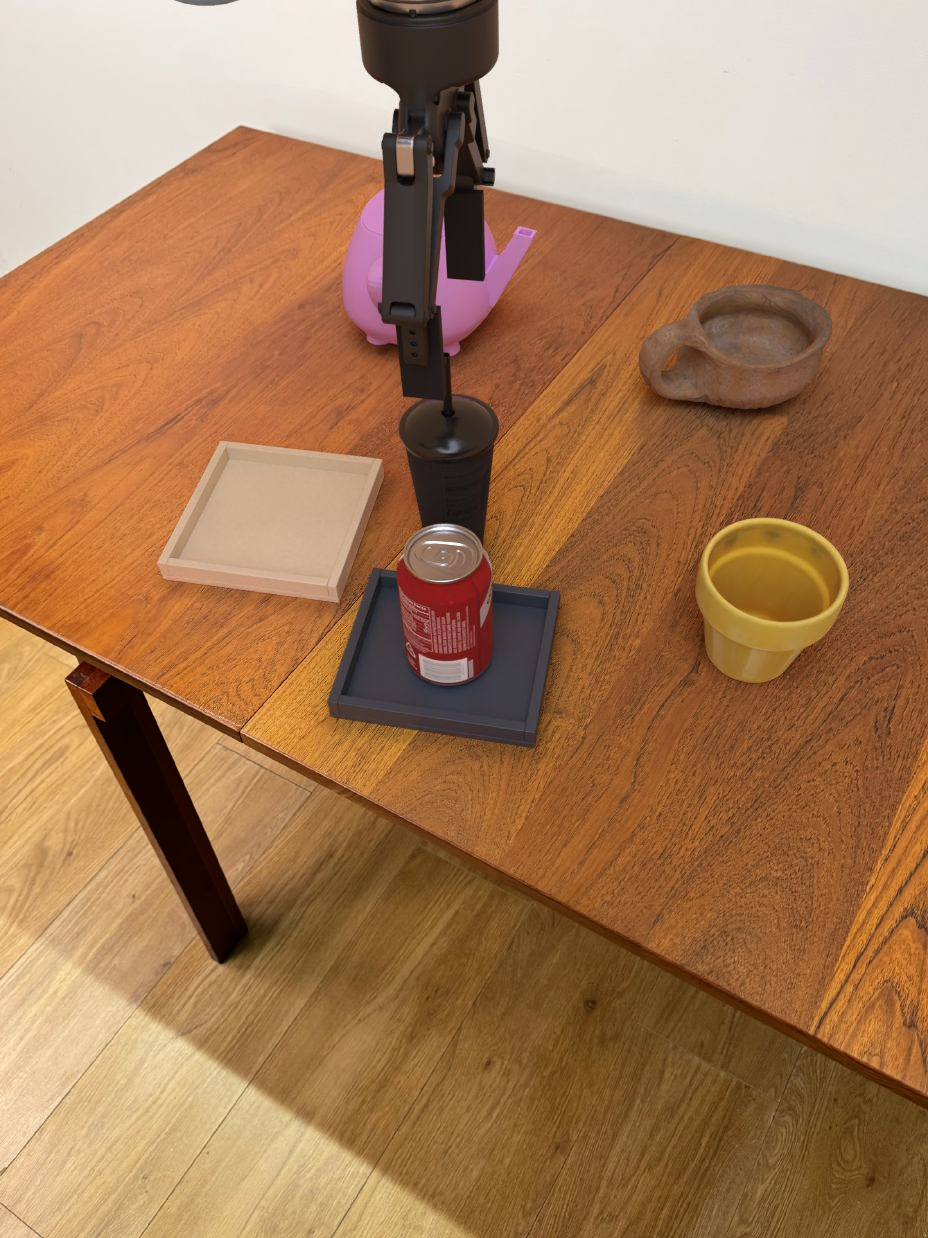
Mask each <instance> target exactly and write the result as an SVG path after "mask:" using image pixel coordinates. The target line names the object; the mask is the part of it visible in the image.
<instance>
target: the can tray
mask: <svg viewBox="0 0 928 1238" xmlns="http://www.w3.org/2000/svg"><path fill="white" fill-rule="evenodd" d="M396 571H397V569H396V570H395V569H387V568H381V567H372V569H371V571H370V574H369V577H368V580H367V584H366V585H365V589H364V592H363V595H362V598H361V600H360V603H359V607H358V610H357V613H356V615H355V618H354V621H353V625H352V628H351V630H350V633H349V635H348V640H347V642H346V645H345V648H344V651H343V654H342V656H341V660H340V663H339V666H338V668H337V673H336V675H335V678H334V680H333V684H332V687H331V690H330V692H329V695H328V699H327V706H328V711H329V714H330V717H331V718H335V719H341V720H347V721H355V722H360V723H368V724H375V725H381V726H388V727H394V728H400V729H407V730H412V731H413V730H414V731H420V732H427V733H433V734H439V735H446V736H451V737H452V736H453V737H459V738H467V739H473V740H480V741H486V742H492V743H499V744H505V745H512V746H518V747H524V748H531V749H535V747H536V743H537V737H538V733H539V724H540V720H541V715H542V708H543V704H544V698H545V690H546V685H547V680H548V674H549V670H550V663H551V657H552V653H553V646H554V640H555V635H556V629H557V624H558V618H559V612H560V606H561V605H560V604H561V591H559V590H550V589H541V588H534V587H526V586H520V585H519V586H518V585H511V584H503V583H495V582H492V617H493V654H492V658H491V661H490V663H489V665H488V667H487V668H486V669H485V671H484V672H483V673H482V674H481V675H479V676H478V677H477V678H475V679H473V680H471V681H469V682H467V683H464V684H460V685H454V686H442V685H436V684H433V683H430V682H427V681H425V680H424V679H422V678H420V677H419V676H418V675H417V674H416V673H415V672H414V671H413V670H412V669H411V667H410V665H409V663H408V661H407V657H406V649H405V641H404V633H403V624H402V616H401V608H400V600H399V591H398V583H397V573H396Z"/></svg>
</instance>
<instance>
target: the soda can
mask: <svg viewBox="0 0 928 1238" xmlns="http://www.w3.org/2000/svg"><path fill="white" fill-rule="evenodd" d="M396 573H397V583H398V591H399V600H400V608H401V616H402V624H403V633H404V641H405V649H406V657H407V661H408V663H409V665H410V667H411V669H412V670H413V671H414V672H415V673H416V674H417V675H418V676H419V677H420V678H422V679H424V680H425V681H427V682H430V683H433V684H436V685H442V686H454V685H460V684H464V683H467V682H469V681H471V680H473V679H475V678H477V677H478V676H479V675H481V674H482V673H483V672H484V671H485V669H486V668H487V667H488V665H489V663H490V661H491V658H492V654H493V617H492V583H493V564H492V560H491V558H490V556H489V554H488V552H487V551H486V550H485V549H484V547H483V548H482V544H481V542H480V540H479V539H478V537H477V536H476V535H475V534H474V533H473V532H471V531H470V530H468V529H467V528H464V527H462V526H459V525H455V524H446V523H445V524H434V525H430V526H427V527H424V528H422V527H421V529H418V530H417V531H416V532H414V533H413V534H412V535H411V536H410V537H409V538H408V539H407V541H406V543H405V544H404V548H403V552H402V553H401V555H400V557H399V558H398V562H397V564H396Z"/></svg>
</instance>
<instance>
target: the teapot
mask: <svg viewBox="0 0 928 1238" xmlns="http://www.w3.org/2000/svg"><path fill="white" fill-rule="evenodd" d="M383 225H384V188H383V189H381V190H380V191H378V192H377V193H376V194H375V195H374V196H373V197H372V198H371V199H370V200H369V201H368V202H367V203H366V204H365V206H364V208H363V209H362V211H361V214H360V216H359V218H358V220H357V222H356V224H355V228H354V230H353V233H352V235H351V238H350V241H349V244H348V246H347V250H346V255H345V259H344V264H343V270H342V271H343V272H342V282H341V283H342V284H341V287H342V289H341V290H342V291H341V292H342V299H343V300H342V301H343V307H344V310H345V313H346V315H347V316H348V318H349V319H350V320H351V322H353V323H354V324H355V326H357V327H358V328H359V329H360V330H361V331H362V332H364V333H365V334H366V340H367V342H368V343H370V344H373V345H376V346H381V345H382V346H384V345H387V344H394V345H397V335H396V326H395V325H392V324H383V322H382V320H381V318H382V317H381V314H379V312H378V302H380V303H382V274H383ZM484 230H485V275H486V276H485V279H484V282H483V281H470V280H458V279H447V267H446V249H445V231H444V217H443V228H442V239H441V250H440V261H439V271H438V282H437V293H436V305H440V306H441V317H442V333H443V349H444V352H448V353H450V357H453V356H456V355H457V354H458V353H459V352H460V350H461V345H460V342H461V341H463V340H464V339H466V338H467V337H469V335H471V334H472V333H473V332H474V331H475V330H476V329H478V327H479V326H480V325H482V323H483V321H484V320H485V319H486V318H487V317H488V316H489V314H490V313H491V312H492V309H494V307H495V306H496V304H497V303H498V302H499V299H500V298H501V296H502V295H503V293H504V292H505V290H506V288H507V287H508V286H509V283H510V282H511V280H512V278H513V277H514V275H515V274H516V273H515V272H516V271H517V270H518V267H519V266H520V264H521V262H522V261H523V259H524V257H525V256H526V253H527V252H528V250H529V249H530V247H531V245H532V243H533V241H534V239H535V238H536V236H537V234H538V230H536V229H532V228H529V227H524V226H520V225H518V226H517V228H516V229H515V231H514V232H513V234H512V235H513V236H512V237H511V239H510V240H509V241H508V243H507V245H505V247H504V249H503V250H502V251H501V253H500V254H499V253H498V249H497V244H496V241H495V239H494V235H493V232H492V230H491V228H490V227H489V224H488V222H487V221H486V219H485V218H484Z"/></svg>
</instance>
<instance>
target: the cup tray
mask: <svg viewBox="0 0 928 1238" xmlns="http://www.w3.org/2000/svg"><path fill="white" fill-rule="evenodd" d="M384 478H385V468H384V460H383V459H382V458H376V457H369V456H360V455H352V454H343V453H335V452H325V451H317V450H307V449H299V448H290V447H280V446H272V445H263V444H254V443H248V442H247V443H245V442H239V441H238V442H237V441H227V440H220V441H219V443H218V444H217V446H216V448H215V450H214V452H213V455H212V456H211V458H210V460H209V462H208V464H207V465H206V467H205V469H204V471H203V473H202V475H201V477H200V479H199V481H198V483H197V485H196V486H195V489H194V491H193V493H192V495H191V496H190V499H189V501H187V504H186V506H185V508H184V510H183V512H182V514H181V516H180V518H179V519H178V521H177V523H176V525H175V527H174V529H173V531H172V533H171V534H170V537H169V539H168V540H167V543H166V544H165V547H164V548H163V550H162V552H161V554H160V556H159V558H158V560H157V562H156V565H157V567H158V570H159V572H160V574H161V577H162V579H163V580H165V581H166V580H167V581H173V582H181V583H188V584H189V583H190V584H196V585H203V586H211V587H219V588H225V589H226V588H227V589H234V590H240V591H248V592H256V593H263V594H269V595H278V596H285V597H292V598H299V599H307V600H314V601H322V602H329V603H337V604H339V603H340V602H341V599H342V597H343V594H344V590H345V589H346V585H347V582H348V580H349V578H350V574H351V572H352V568H353V566H354V563H355V560H356V557H357V554H358V552H359V549H360V546H361V543H362V540H363V537H364V535H365V532H366V529H367V526H368V523H369V521H370V517H371V515H372V512H373V509H374V507H375V504H376V502H377V499H378V495H379V492H380V490H381V487H382V485H383V482H384Z"/></svg>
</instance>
